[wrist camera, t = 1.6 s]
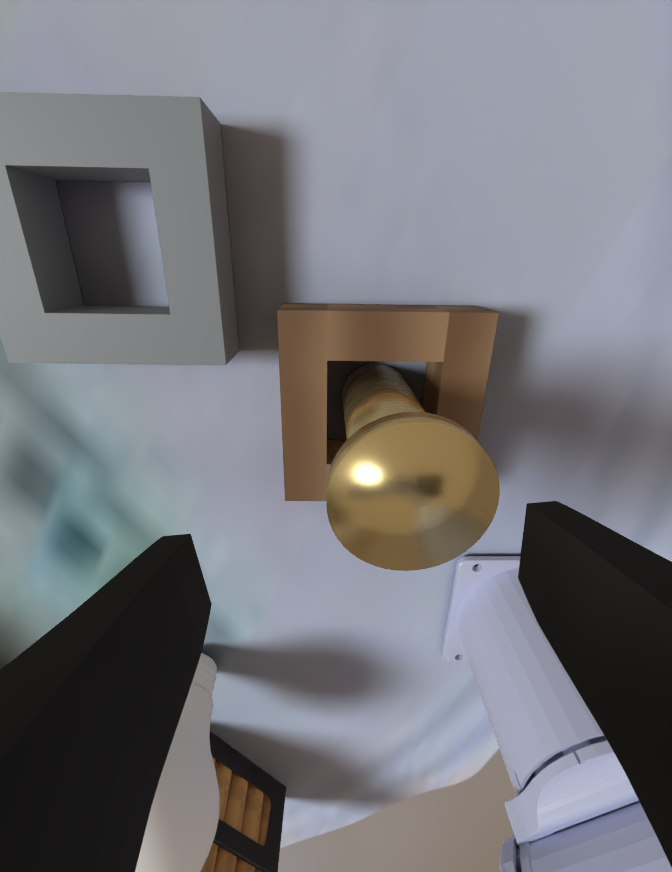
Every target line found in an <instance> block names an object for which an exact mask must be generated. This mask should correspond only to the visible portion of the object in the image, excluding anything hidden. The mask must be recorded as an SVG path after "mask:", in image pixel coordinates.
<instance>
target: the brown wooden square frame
mask: <svg viewBox="0 0 672 872" xmlns="http://www.w3.org/2000/svg"><path fill="white" fill-rule="evenodd" d="M498 316H499V313H497V312H494V311H491V310H488V309H484V308H481V307H478V306H454V305H379V304H304V303H284V304H283V305H282V306H281V307H280V308H279V309H278V310H277V323H278V346H279V369H280V393H281V416H282V439H283V462H284V485H285V501H327V478H328V473H329V469H330V466H331V464H332V461H333V459H334V457H335V455H336V454H337V452H338V450H339V449H340V448H341V446H342V445H343V444H344V442H345V441H346V440H327V361H411V362H427V364H426V373H425V383H424V392H423V401H422V408H423V409H424V411H425V412H427V413H432V414H437V415H440V416H443V417H446V418H448V419H450V420H452V421H454V422H456V423H458V424H459V425H460V426H462V427H463V428H465V429H466V430H467V431H468V432H469V433H470V434H471V435H472V436H473V437H474V438H475V439H476V441H477V438H478V432H479V426H480V421H481V415H482V409H483V403H484V397H485V392H486V386H487V380H488V374H489V368H490V363H491V357H492V351H493V345H494V339H495V334H496V328H497V322H498Z"/></svg>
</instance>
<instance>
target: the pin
mask: <svg viewBox="0 0 672 872" xmlns="http://www.w3.org/2000/svg"><path fill="white" fill-rule="evenodd" d="M342 400H343V410H344V419H345V428H346V437H347V440H346V441H345V442H344V444H343V445H342V446H341V448H340V449H339V450H338V452H337V454H336V455H335V457H334V459H333V461H332V464H331V466H330V469H329V473H328V478H327V513H328V518H329V522H330V525H331V527H332V530H333V532H334V533H335V535H336V537H337V538H338V540H339V541H340V542H341V543H342V545H343V546H344V547H345V548H346V549H347V550H348V551H349V552H351V553H352V554H353V555H355V556H356V557H358V558H359V559H361V560H363V561H365V562H367V563H369V564H372V565H374V566H377V567H381V568H385V569H391V570H402V571H409V570H420V569H426V568H430V567H434V566H437V565H440V564H443V563H445V562H448V561H450V560H452V559H454V558H456V557H457V556H459V555H461V554H462V553H464V552H465V551H466V550H468V549H469V548H470V547H472V546H473V545H474V544H475V543H476V542H477V541H478V540H479V539H480V538H481V536H482V535H483V534H484V533H485V531H486V530H487V528H488V527H489V525H490V524H491V522H492V520H493V517H494V515H495V513H496V509H497V506H498V501H499V480H498V475H497V472H496V469H495V466H494V464H493V462H492V461H491V459H490V457H489V456H488V454H487V453H486V452H485V450H484V449H483V448H482V447H481V445H480V444H479V443H478V442H477V441H476V439H475V438H474V437H473V436H472V435H471V434H470V433H469V432H468V431H467V430H466V429H465V428H463V427H462V426H460V425H459V424H458V423H456V422H454V421H452V420H450V419H448V418H446V417H443V416H440V415H437V414H432V413H427V412H425V411H424V409H423V408H422V406H421V405H420V403H419V401H418V400H417V398H416V397H415V395H414V394H413V392H412V391H411V389H410V388H409V386H408V384H407V383H406V381H405V380H404V378H403V377H402V376H401V374H400V373H399V372H398V371H396V370H395V369H394V368H392V367H390V366H387V365H383V364H370V365H366V366H363V367H361V368H359V369H358V370H356V371H355V372H354V373H352V374H351V376H350V377H349V378H348V379H347V381H346V383H345V385H344V388H343V393H342Z"/></svg>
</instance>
